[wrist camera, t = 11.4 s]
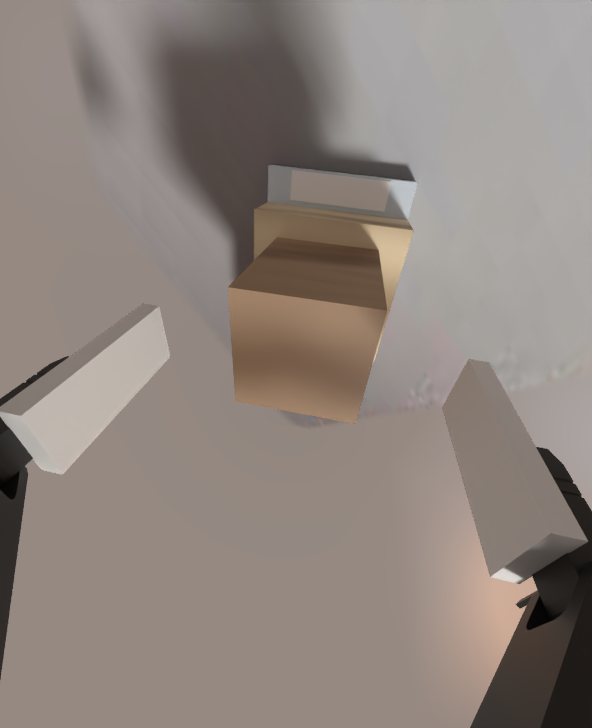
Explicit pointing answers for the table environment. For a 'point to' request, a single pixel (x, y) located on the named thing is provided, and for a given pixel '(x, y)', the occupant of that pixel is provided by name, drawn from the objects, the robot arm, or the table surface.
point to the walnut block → (307, 327)
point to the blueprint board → (341, 191)
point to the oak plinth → (338, 235)
